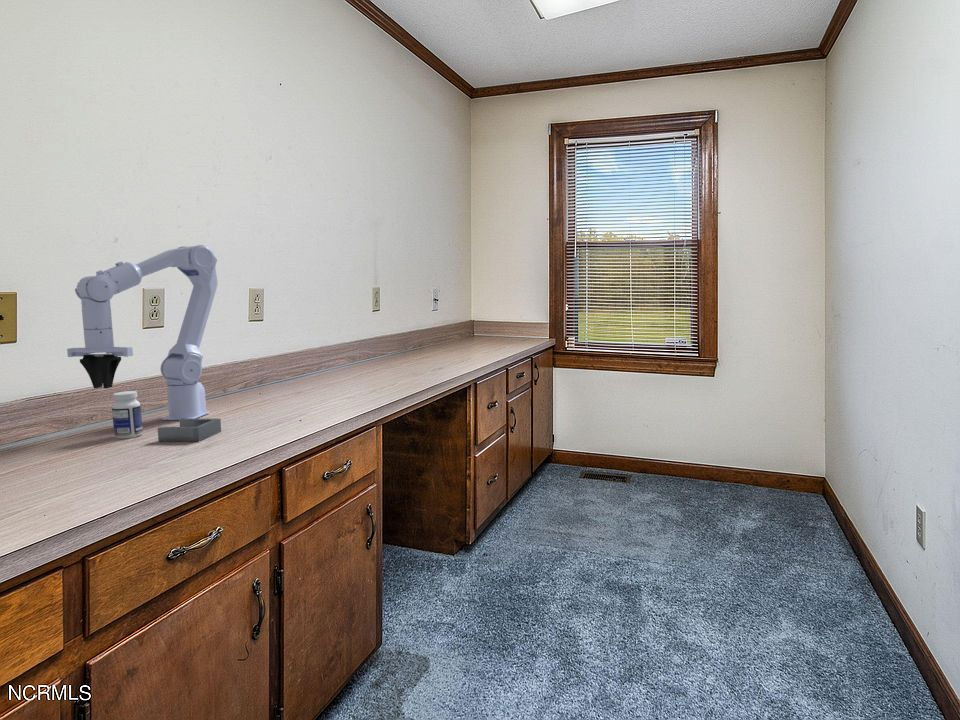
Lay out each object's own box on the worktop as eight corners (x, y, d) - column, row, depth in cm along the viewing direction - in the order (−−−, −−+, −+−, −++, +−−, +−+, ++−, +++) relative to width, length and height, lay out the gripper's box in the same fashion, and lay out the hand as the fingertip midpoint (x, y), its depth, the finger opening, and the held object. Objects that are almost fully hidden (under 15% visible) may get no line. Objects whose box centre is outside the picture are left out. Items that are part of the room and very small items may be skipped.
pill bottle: (136, 432, 149) (133, 389, 148) (147, 435, 146) (144, 392, 144) (109, 436, 145) (106, 393, 144) (120, 440, 141) (117, 395, 140)
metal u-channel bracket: (183, 431, 149) (182, 418, 149) (221, 431, 149) (220, 418, 148) (158, 441, 139) (157, 427, 139) (199, 441, 139) (198, 428, 138)
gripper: (55, 330, 144) (60, 390, 145) (117, 329, 142) (122, 390, 144) (77, 328, 151) (82, 385, 152) (136, 327, 149) (141, 385, 151)
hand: (103, 387), depth 149 cm, fingers closed
